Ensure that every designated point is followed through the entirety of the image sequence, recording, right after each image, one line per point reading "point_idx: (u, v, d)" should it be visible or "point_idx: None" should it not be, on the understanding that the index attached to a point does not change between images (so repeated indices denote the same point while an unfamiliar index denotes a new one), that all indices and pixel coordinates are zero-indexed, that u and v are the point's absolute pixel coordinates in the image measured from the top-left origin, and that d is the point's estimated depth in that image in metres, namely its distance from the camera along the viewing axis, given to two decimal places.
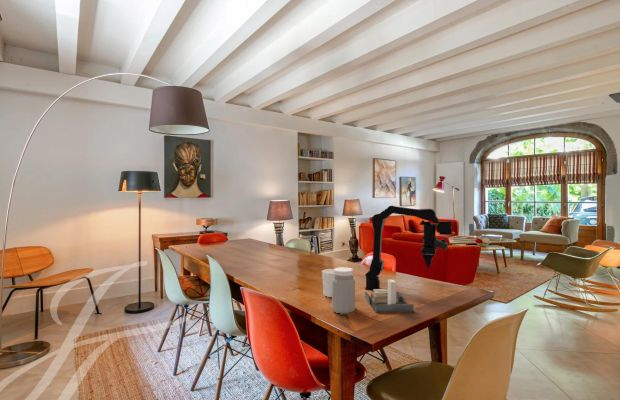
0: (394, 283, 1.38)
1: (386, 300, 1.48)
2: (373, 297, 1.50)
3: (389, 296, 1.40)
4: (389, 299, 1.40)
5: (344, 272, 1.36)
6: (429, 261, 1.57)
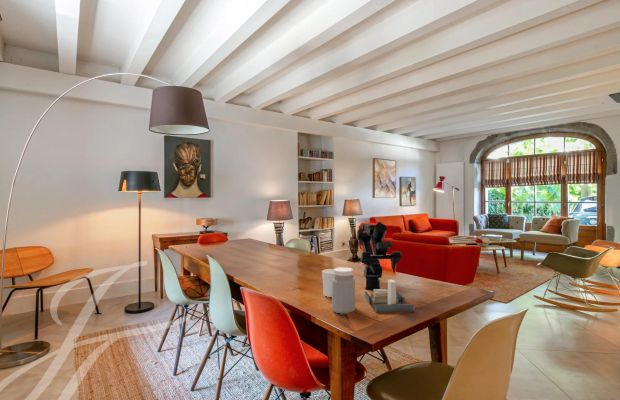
0: (394, 283, 1.38)
1: (386, 300, 1.48)
2: (373, 297, 1.50)
3: (389, 296, 1.40)
4: (389, 299, 1.40)
5: (344, 272, 1.36)
6: (371, 266, 1.53)
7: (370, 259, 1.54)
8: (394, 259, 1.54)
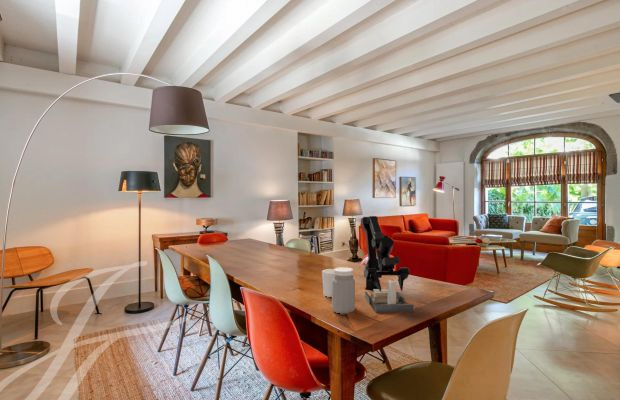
0: (394, 283, 1.38)
1: (386, 300, 1.48)
2: (373, 297, 1.50)
3: (389, 296, 1.40)
4: (389, 299, 1.40)
5: (344, 272, 1.36)
6: (377, 283, 1.42)
7: (376, 276, 1.43)
8: (402, 276, 1.43)
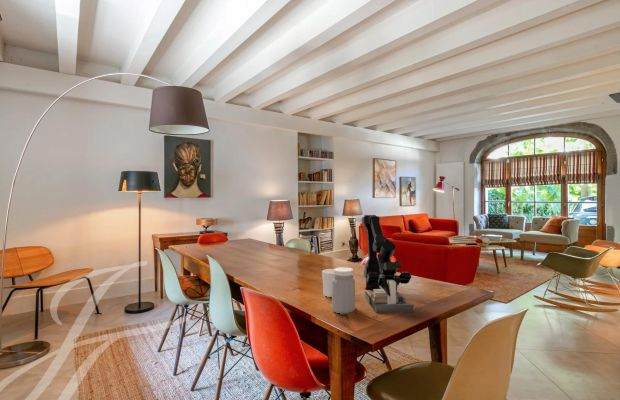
0: (394, 283, 1.38)
1: (386, 300, 1.48)
2: (373, 297, 1.50)
3: (389, 296, 1.40)
4: (389, 299, 1.40)
5: (344, 272, 1.36)
6: (385, 288, 1.40)
7: (385, 280, 1.41)
8: (396, 281, 1.41)
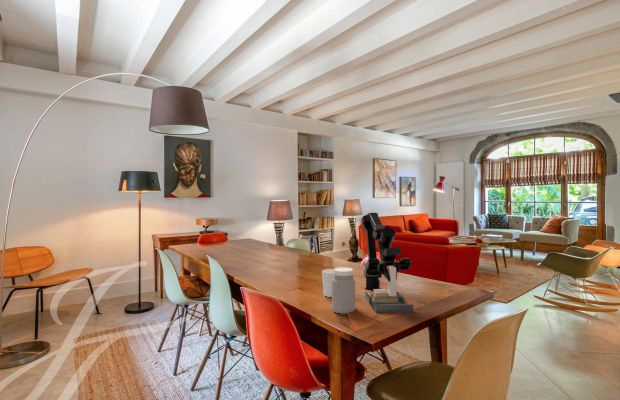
0: (394, 269, 1.38)
1: (386, 300, 1.48)
2: (373, 297, 1.50)
3: (389, 282, 1.39)
4: (389, 285, 1.39)
5: (344, 272, 1.36)
6: (385, 274, 1.40)
7: (385, 266, 1.41)
8: (396, 266, 1.41)
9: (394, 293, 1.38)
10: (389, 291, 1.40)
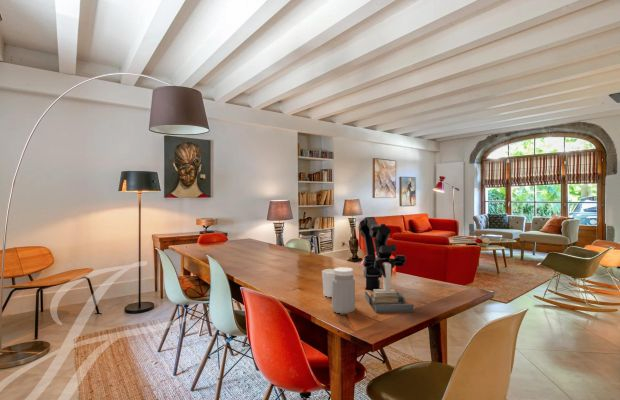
0: (389, 265, 1.44)
1: (386, 300, 1.48)
2: (373, 297, 1.50)
3: (384, 278, 1.46)
4: (384, 281, 1.46)
5: (344, 272, 1.36)
6: (381, 270, 1.47)
7: (380, 263, 1.48)
8: (391, 263, 1.48)
9: (389, 288, 1.45)
10: (384, 286, 1.46)
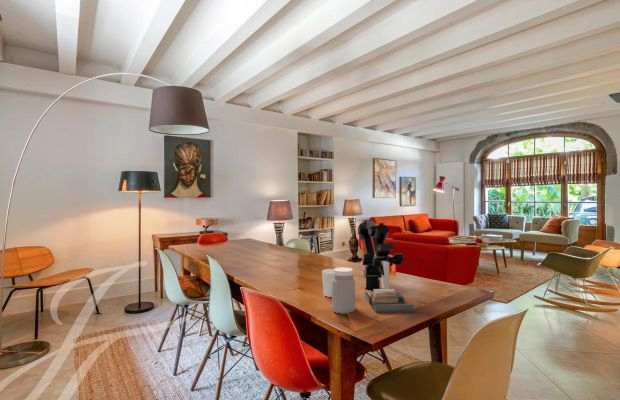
0: (387, 263, 1.47)
1: (386, 300, 1.48)
2: (373, 297, 1.50)
3: (383, 276, 1.49)
4: (383, 279, 1.49)
5: (344, 272, 1.36)
6: (380, 268, 1.50)
7: (379, 261, 1.50)
8: (389, 261, 1.51)
9: (387, 286, 1.47)
10: (383, 284, 1.49)
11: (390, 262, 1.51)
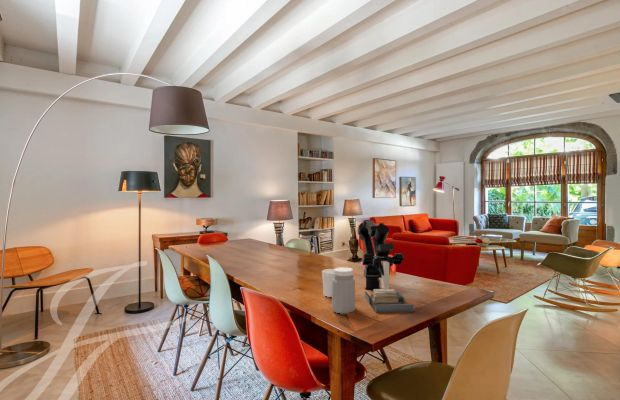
0: (387, 263, 1.47)
1: (386, 300, 1.48)
2: (373, 297, 1.50)
3: (383, 276, 1.49)
4: (383, 279, 1.49)
5: (344, 272, 1.36)
6: (380, 268, 1.50)
7: (379, 261, 1.50)
8: (389, 261, 1.51)
9: (387, 286, 1.47)
10: (383, 285, 1.49)
11: (390, 262, 1.51)
